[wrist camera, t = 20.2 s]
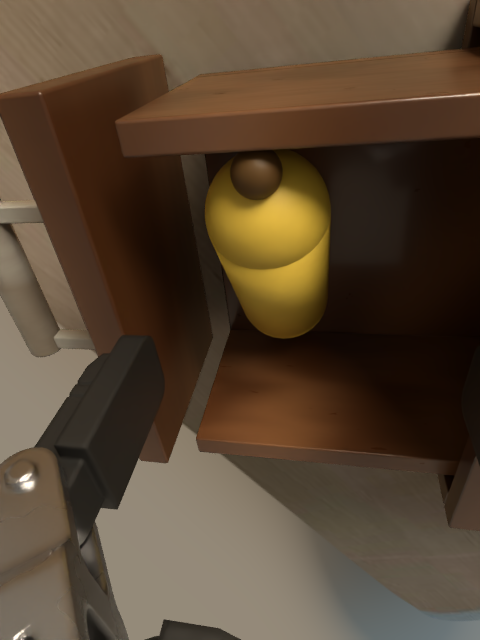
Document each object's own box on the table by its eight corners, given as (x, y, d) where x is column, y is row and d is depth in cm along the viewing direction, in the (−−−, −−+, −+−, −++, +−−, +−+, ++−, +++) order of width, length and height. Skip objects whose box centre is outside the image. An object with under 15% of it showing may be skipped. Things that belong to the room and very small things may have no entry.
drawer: (104, 333, 24) (24, 449, 17) (5, 71, 16) (-200, 113, 10) (486, 347, 20) (555, 504, 13) (599, 5, 12) (877, 8, 6)
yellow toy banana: (328, 276, 18) (326, 350, 17) (252, 275, 19) (245, 347, 18) (334, 80, 9) (331, 211, 8) (188, 93, 10) (167, 215, 9)
